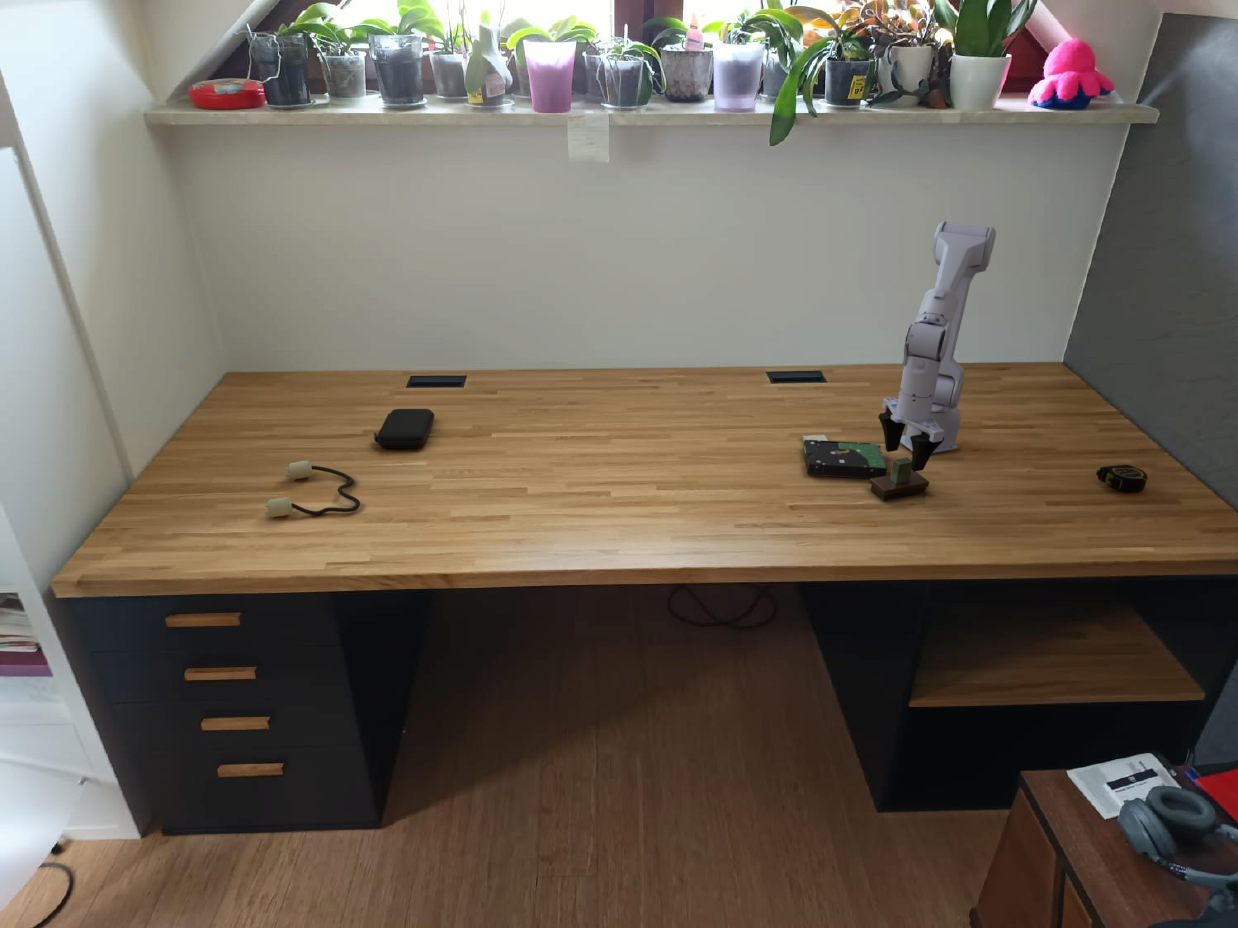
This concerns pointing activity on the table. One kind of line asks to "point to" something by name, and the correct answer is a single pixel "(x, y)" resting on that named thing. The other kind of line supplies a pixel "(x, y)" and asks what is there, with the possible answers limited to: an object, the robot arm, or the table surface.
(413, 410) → the carrying case
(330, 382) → the table surface
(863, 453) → the disk drive
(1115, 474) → the tape measure
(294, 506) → the cable
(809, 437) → the eraser
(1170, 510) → the table surface
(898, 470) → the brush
